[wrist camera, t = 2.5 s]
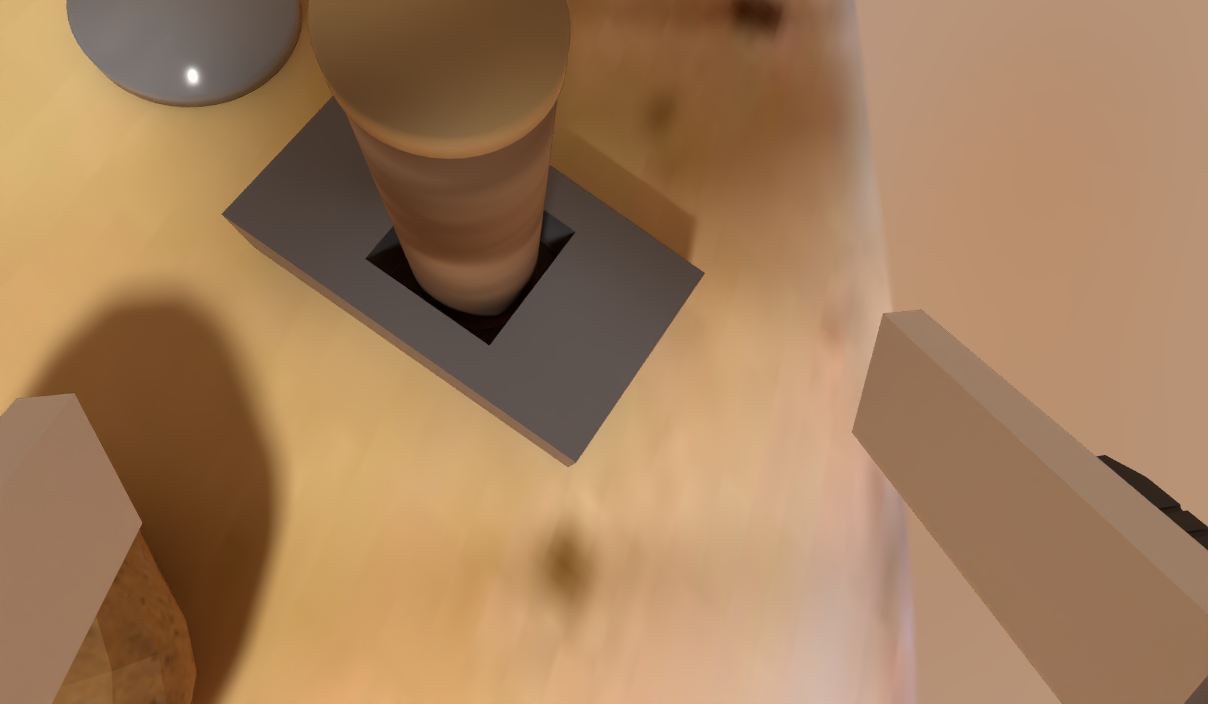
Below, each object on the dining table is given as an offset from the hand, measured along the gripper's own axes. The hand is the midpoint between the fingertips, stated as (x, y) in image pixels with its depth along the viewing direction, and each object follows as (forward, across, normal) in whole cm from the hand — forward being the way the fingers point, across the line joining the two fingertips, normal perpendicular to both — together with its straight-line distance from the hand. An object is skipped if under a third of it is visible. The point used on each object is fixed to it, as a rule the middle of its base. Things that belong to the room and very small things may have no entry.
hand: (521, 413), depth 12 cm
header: (+14, -1, -4) cm, 15 cm away
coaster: (+22, -11, +4) cm, 25 cm away
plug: (+14, -1, -4) cm, 15 cm away
